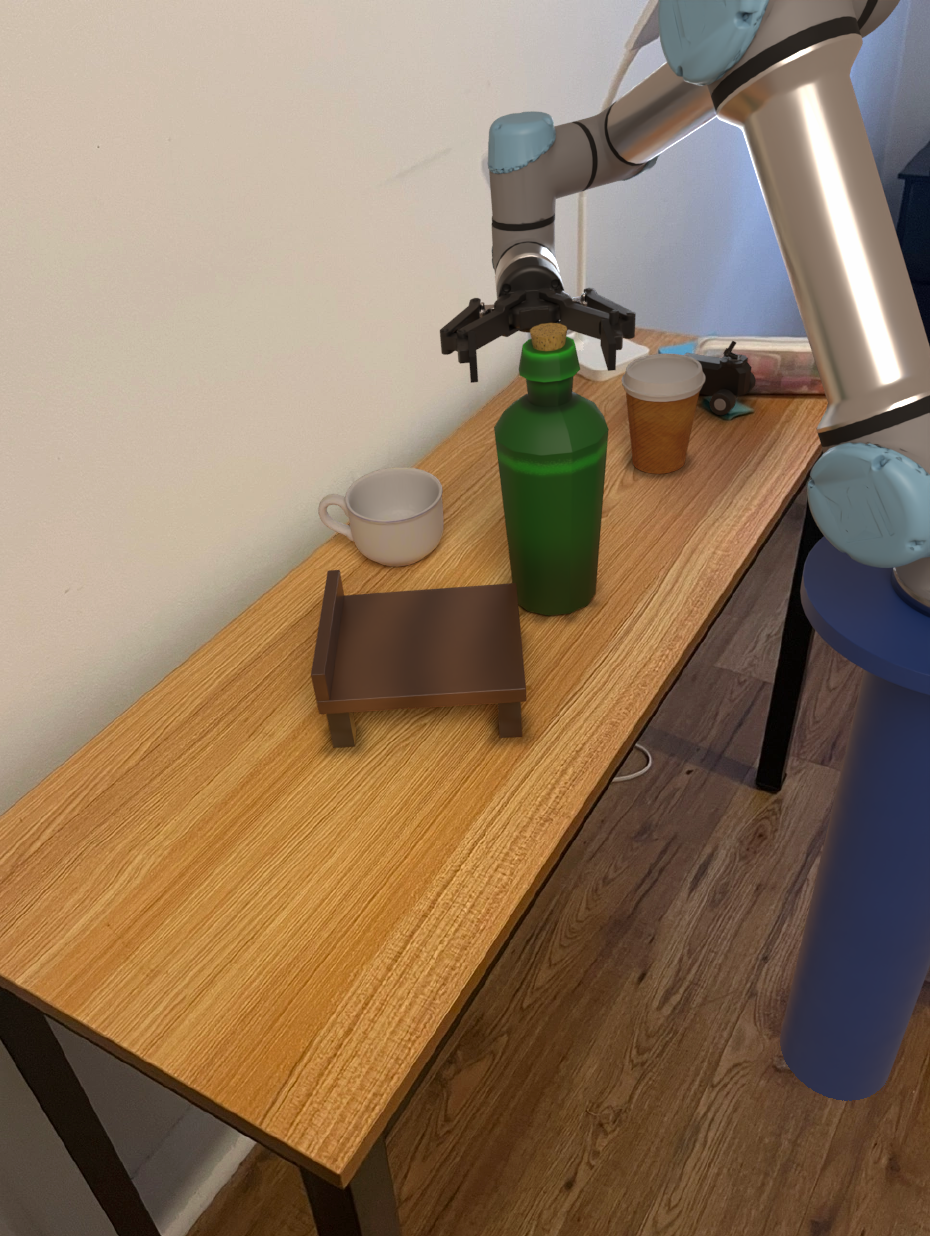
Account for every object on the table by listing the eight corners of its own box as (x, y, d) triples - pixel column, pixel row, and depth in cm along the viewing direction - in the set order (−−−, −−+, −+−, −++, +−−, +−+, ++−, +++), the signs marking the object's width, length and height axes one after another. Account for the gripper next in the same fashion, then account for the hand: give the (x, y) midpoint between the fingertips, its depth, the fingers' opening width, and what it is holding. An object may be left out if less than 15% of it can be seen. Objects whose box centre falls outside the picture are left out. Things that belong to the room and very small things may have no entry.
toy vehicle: (731, 421, 132) (738, 355, 126) (626, 401, 140) (628, 338, 134) (756, 396, 137) (764, 331, 131) (653, 378, 144) (656, 316, 139)
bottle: (581, 558, 111) (581, 299, 93) (622, 610, 103) (631, 338, 85) (489, 580, 110) (471, 322, 92) (523, 635, 102) (511, 363, 84)
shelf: (518, 632, 102) (514, 556, 96) (528, 740, 90) (524, 660, 84) (341, 644, 104) (327, 570, 98) (327, 752, 92) (310, 674, 86)
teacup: (458, 530, 118) (452, 468, 113) (433, 582, 111) (426, 518, 106) (346, 523, 122) (335, 463, 117) (314, 573, 115) (302, 511, 109)
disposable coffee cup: (690, 440, 129) (697, 348, 121) (705, 477, 122) (714, 381, 114) (614, 447, 130) (616, 356, 122) (625, 484, 123) (628, 389, 115)
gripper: (638, 311, 118) (668, 388, 102) (423, 331, 120) (420, 409, 104) (640, 244, 113) (673, 313, 97) (417, 265, 115) (412, 337, 99)
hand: (542, 363), depth 101 cm, fingers open, 13 cm apart
